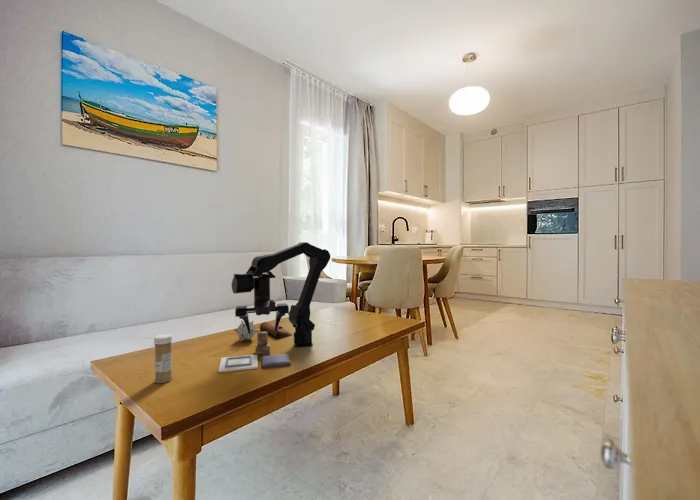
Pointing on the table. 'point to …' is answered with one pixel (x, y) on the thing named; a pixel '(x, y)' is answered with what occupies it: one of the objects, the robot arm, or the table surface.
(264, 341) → the stamp
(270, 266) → the robot arm
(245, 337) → the game die
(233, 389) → the table surface
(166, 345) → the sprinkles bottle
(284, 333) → the sunglasses case
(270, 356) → the ink pad
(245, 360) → the print card
